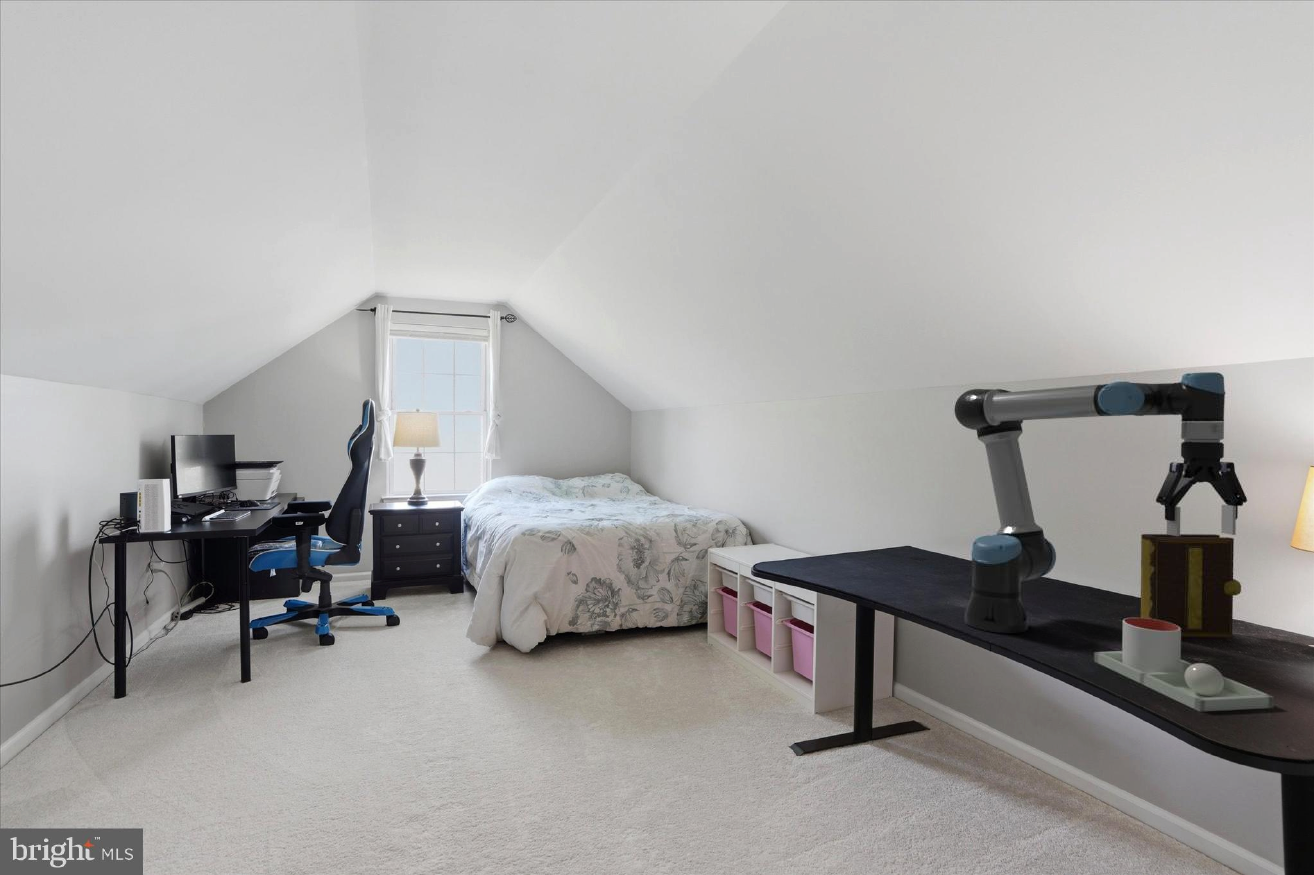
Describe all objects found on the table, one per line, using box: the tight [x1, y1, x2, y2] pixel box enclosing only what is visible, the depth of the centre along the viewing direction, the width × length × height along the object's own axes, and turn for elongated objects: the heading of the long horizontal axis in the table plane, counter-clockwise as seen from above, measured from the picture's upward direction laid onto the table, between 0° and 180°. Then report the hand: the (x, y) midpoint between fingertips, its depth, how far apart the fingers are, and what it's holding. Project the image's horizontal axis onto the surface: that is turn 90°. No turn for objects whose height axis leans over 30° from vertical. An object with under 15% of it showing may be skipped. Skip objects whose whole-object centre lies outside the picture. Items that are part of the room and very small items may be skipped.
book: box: [1139, 533, 1242, 639], centre depth 171 cm, size 22×8×25 cm, turn 87°
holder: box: [1093, 650, 1275, 712], centre depth 137 cm, size 26×15×3 cm, turn 5°
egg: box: [1184, 662, 1224, 696], centre depth 130 cm, size 6×6×6 cm
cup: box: [1121, 617, 1182, 673], centre depth 143 cm, size 10×10×10 cm
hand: (1200, 534), depth 152 cm, fingers open, 13 cm apart
